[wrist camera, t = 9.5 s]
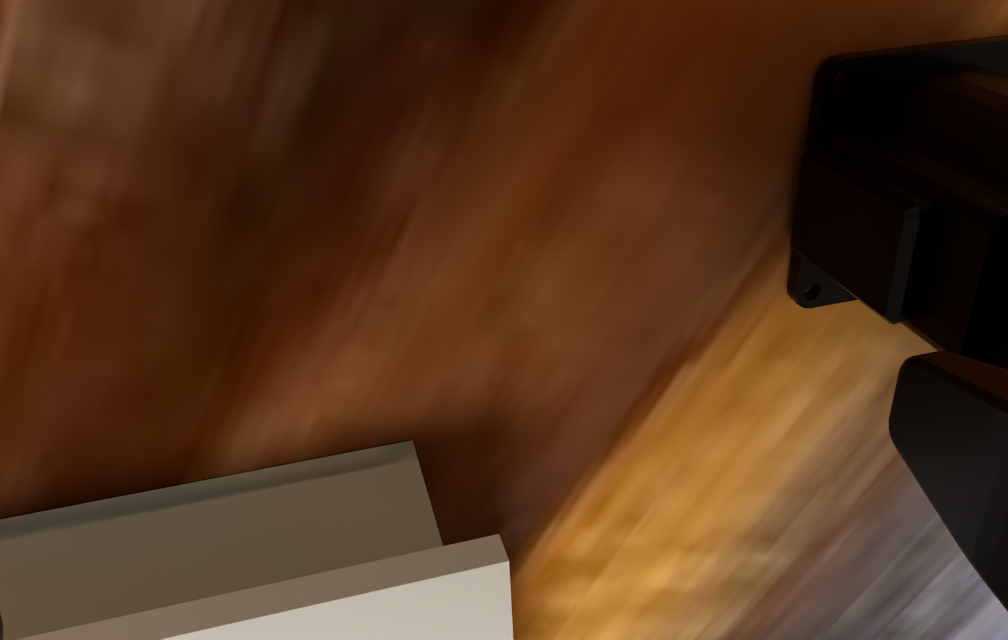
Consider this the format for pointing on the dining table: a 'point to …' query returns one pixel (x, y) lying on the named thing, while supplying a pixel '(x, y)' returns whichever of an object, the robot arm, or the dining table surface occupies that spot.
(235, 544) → the pale green open box
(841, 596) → the dining table surface
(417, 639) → the lid
